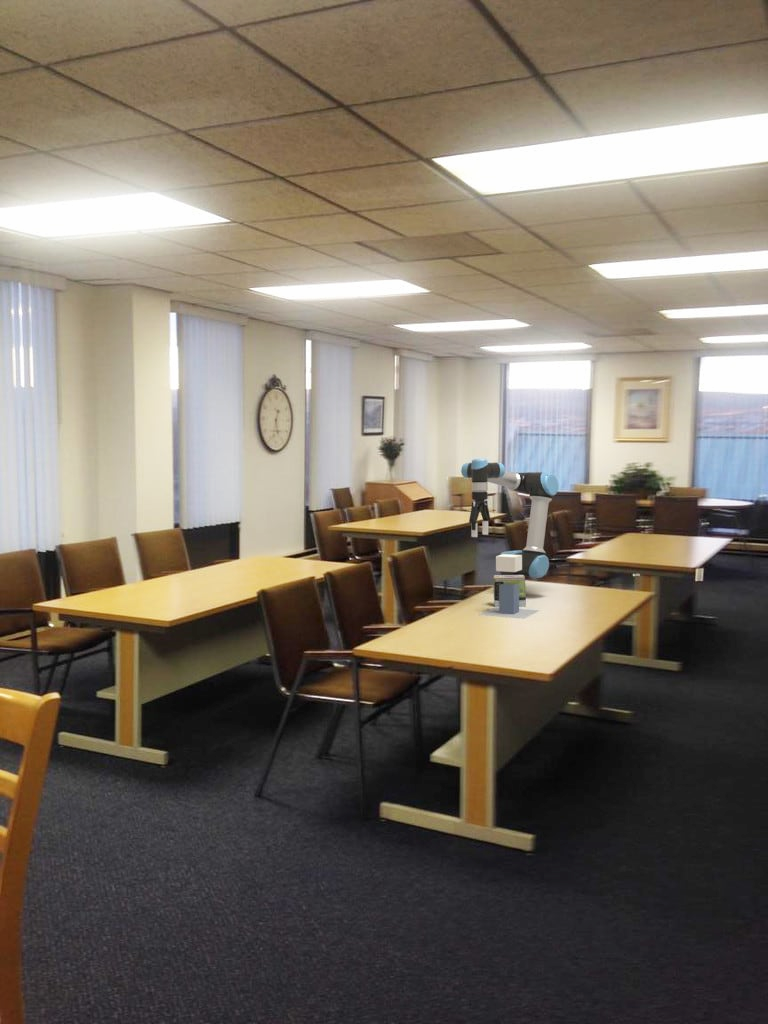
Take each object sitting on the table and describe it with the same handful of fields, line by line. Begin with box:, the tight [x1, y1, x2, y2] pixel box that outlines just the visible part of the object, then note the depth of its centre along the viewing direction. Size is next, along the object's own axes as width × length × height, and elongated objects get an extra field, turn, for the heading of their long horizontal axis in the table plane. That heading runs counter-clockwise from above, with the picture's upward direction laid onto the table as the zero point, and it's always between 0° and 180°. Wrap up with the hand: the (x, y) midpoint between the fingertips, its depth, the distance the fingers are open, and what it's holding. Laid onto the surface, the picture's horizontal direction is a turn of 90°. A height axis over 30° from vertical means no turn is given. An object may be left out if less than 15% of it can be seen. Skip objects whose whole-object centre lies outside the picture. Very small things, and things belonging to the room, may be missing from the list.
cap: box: [495, 554, 522, 572], centre depth 393 cm, size 9×9×7 cm
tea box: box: [493, 574, 527, 608], centre depth 414 cm, size 15×10×15 cm, turn 84°
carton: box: [499, 583, 520, 614], centre depth 394 cm, size 7×7×13 cm
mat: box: [478, 606, 541, 619], centre depth 395 cm, size 22×22×1 cm
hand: (479, 535), depth 409 cm, fingers open, 13 cm apart
